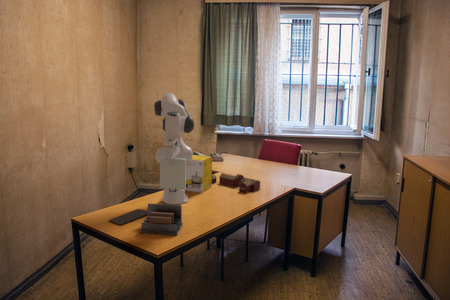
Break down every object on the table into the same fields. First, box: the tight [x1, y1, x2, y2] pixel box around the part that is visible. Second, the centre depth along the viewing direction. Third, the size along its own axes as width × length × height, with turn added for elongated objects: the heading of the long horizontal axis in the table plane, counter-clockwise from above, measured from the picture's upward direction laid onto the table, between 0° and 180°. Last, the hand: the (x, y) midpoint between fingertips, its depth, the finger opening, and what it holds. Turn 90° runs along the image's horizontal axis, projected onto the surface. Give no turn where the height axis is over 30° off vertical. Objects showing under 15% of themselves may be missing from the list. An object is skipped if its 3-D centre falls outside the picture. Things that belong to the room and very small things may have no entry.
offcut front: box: [149, 216, 171, 224], centre depth 206 cm, size 2×12×7 cm, turn 85°
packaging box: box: [185, 154, 213, 194], centre depth 287 cm, size 16×16×25 cm
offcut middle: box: [150, 212, 174, 222], centre depth 210 cm, size 2×13×8 cm, turn 84°
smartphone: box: [108, 208, 148, 227], centre depth 226 cm, size 12×2×25 cm
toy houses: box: [211, 172, 261, 194], centre depth 298 cm, size 45×20×10 cm, turn 53°
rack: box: [139, 203, 184, 237], centre depth 209 cm, size 15×21×12 cm
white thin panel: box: [159, 158, 186, 191], centre depth 212 cm, size 2×15×18 cm, turn 84°
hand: (172, 164), depth 211 cm, fingers closed on white thin panel, 2 cm apart
